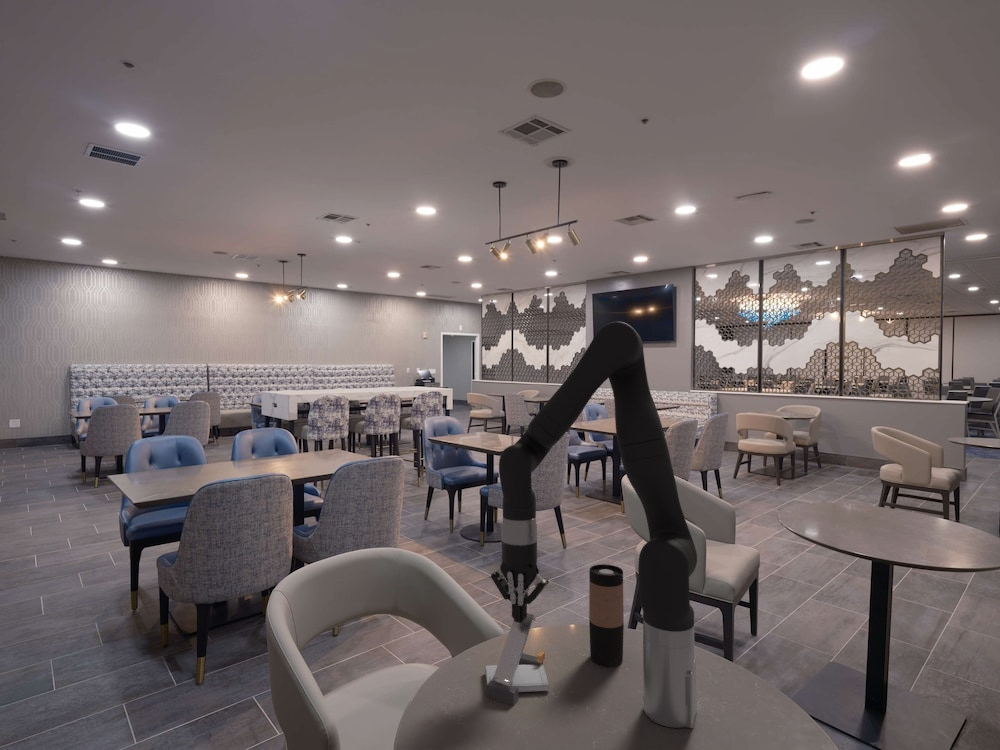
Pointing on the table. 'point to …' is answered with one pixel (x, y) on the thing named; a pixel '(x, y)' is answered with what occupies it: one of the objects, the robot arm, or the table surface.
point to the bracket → (511, 693)
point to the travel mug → (606, 615)
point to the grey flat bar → (512, 651)
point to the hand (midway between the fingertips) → (519, 620)
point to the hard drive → (525, 677)
